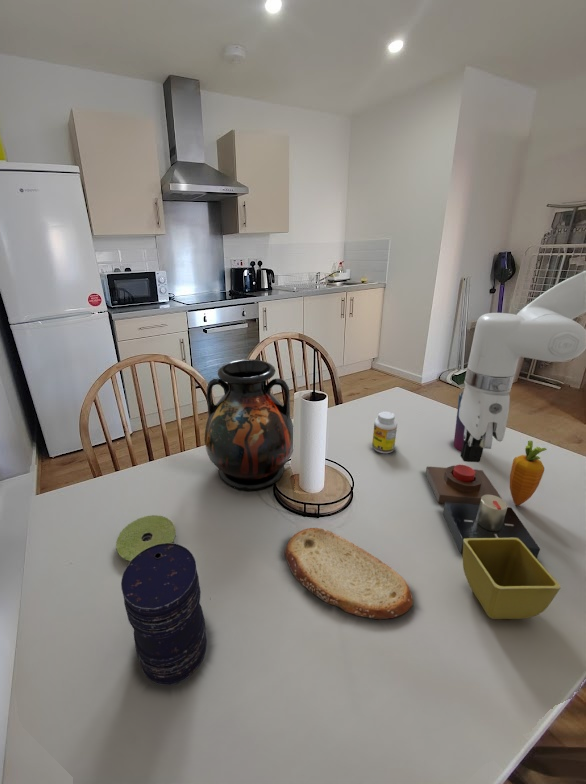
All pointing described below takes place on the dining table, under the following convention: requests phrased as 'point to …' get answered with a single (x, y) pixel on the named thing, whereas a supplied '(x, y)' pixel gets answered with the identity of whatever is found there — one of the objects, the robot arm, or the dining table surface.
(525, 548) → the flower pot
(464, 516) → the control panel
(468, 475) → the button
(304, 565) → the bread slice
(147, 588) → the navy ridged drum
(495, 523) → the dial
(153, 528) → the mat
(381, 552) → the dining table surface
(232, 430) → the amphora vase
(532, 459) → the carrot
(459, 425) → the cup
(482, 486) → the button block
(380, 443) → the supplement bottle
